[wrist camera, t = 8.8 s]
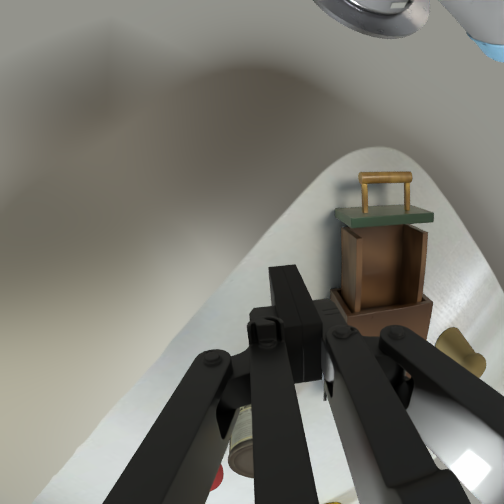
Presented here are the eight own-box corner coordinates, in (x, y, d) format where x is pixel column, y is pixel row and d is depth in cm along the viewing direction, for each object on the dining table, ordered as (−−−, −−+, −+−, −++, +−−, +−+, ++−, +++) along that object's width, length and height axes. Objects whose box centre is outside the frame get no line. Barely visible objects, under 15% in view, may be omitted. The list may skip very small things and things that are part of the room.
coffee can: (301, 397, 50) (314, 458, 37) (260, 425, 52) (263, 485, 39) (260, 368, 48) (265, 433, 34) (218, 400, 50) (213, 462, 36)
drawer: (332, 171, 38) (349, 173, 32) (408, 169, 38) (434, 173, 32) (335, 313, 44) (348, 337, 38) (403, 303, 44) (422, 323, 38)
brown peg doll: (454, 321, 47) (487, 352, 36) (463, 338, 48) (493, 369, 37) (431, 343, 48) (460, 378, 37) (441, 359, 49) (468, 393, 39)
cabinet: (330, 288, 44) (347, 316, 36) (406, 278, 44) (433, 302, 36) (327, 376, 49) (339, 410, 41) (394, 364, 49) (413, 393, 40)
